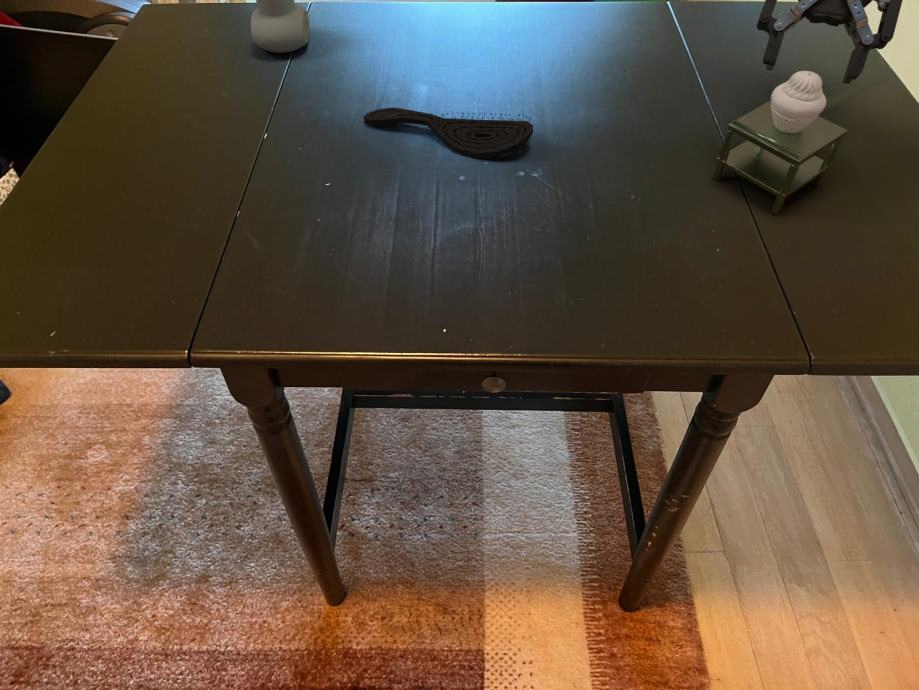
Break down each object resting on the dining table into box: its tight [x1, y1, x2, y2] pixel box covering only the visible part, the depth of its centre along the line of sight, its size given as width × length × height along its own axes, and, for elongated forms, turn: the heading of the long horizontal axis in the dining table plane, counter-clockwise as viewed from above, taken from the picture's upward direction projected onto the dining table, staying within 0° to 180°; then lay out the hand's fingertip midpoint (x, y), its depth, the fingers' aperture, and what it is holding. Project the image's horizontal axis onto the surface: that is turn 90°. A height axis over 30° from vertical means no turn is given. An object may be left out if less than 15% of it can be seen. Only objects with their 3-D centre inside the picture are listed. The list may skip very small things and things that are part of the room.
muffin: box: [770, 70, 827, 134], centre depth 81 cm, size 6×6×7 cm
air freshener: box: [250, 0, 310, 54], centre depth 111 cm, size 11×8×10 cm
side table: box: [712, 100, 849, 216], centre depth 86 cm, size 10×10×9 cm
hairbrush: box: [363, 106, 534, 159], centre depth 96 cm, size 8×4×25 cm
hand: (808, 74), depth 79 cm, fingers open, 8 cm apart
